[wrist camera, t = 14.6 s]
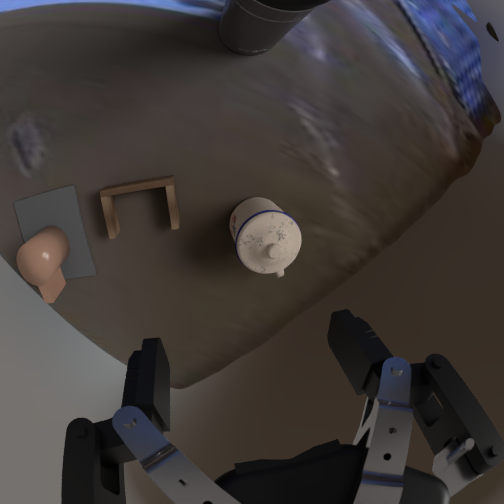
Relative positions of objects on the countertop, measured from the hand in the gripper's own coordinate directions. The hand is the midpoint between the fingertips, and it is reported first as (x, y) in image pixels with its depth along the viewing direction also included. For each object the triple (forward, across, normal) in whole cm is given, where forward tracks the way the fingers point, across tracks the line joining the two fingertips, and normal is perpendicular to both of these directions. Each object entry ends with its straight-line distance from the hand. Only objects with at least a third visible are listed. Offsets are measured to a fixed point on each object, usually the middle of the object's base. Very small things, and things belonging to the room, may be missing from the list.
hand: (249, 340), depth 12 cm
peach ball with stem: (+31, +29, +7) cm, 43 cm away
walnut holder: (+32, +11, +1) cm, 34 cm away
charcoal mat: (+32, +29, +4) cm, 43 cm away
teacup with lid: (+32, -7, +8) cm, 34 cm away
